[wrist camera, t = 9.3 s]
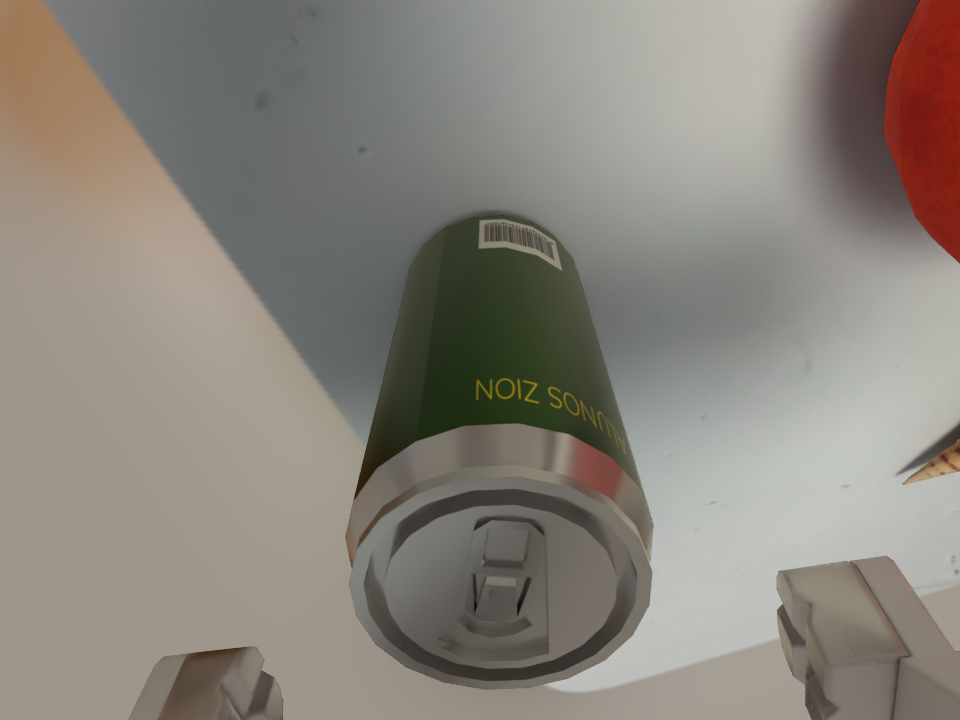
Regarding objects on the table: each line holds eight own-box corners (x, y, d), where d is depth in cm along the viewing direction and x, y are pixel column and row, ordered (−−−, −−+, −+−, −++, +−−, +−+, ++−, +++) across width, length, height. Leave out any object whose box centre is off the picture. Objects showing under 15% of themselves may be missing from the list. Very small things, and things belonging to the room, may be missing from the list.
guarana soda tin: (410, 198, 20) (332, 447, 10) (593, 215, 21) (705, 478, 10) (402, 358, 23) (335, 687, 13) (564, 372, 23) (629, 707, 13)
